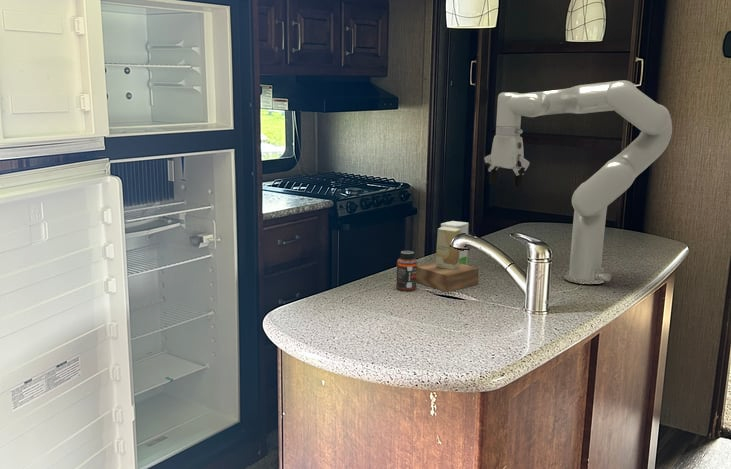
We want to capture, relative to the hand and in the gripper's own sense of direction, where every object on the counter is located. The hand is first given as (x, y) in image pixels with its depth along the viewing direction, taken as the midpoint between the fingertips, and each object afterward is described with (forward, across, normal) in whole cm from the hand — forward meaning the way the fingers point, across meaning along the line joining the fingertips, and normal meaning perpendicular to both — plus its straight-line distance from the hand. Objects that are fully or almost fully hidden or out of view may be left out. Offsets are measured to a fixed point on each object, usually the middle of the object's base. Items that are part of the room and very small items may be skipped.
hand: (504, 185), depth 231 cm
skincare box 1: (+24, +1, +25) cm, 34 cm away
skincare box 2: (+28, +11, +11) cm, 32 cm away
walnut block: (+28, +1, +25) cm, 38 cm away
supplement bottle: (+28, +4, +39) cm, 48 cm away
